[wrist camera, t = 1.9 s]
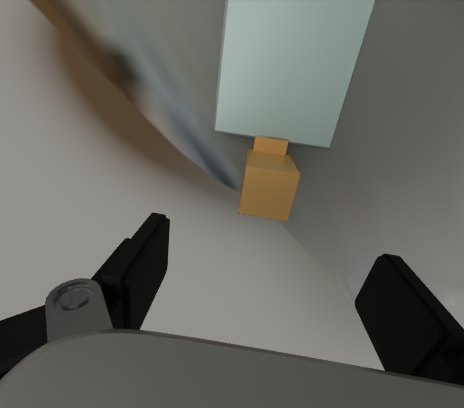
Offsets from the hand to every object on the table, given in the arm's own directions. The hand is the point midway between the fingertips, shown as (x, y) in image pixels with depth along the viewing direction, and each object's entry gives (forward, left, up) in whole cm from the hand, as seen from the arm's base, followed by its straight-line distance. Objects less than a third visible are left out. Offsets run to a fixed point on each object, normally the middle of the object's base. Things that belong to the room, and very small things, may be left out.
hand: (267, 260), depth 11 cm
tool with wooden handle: (-1, -8, -15) cm, 17 cm away
